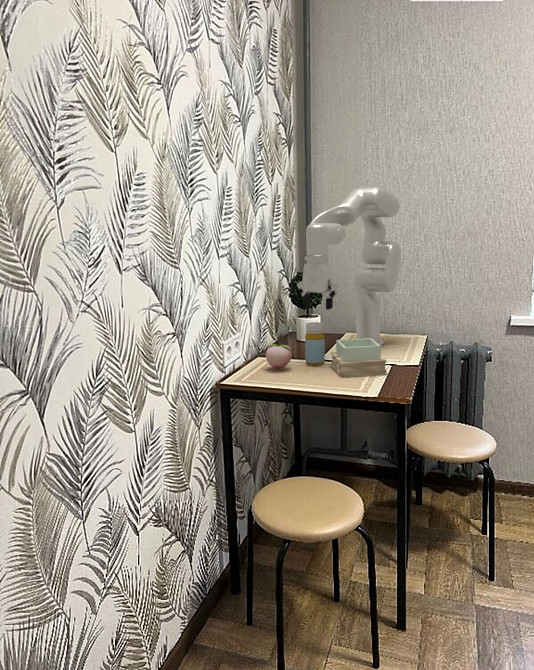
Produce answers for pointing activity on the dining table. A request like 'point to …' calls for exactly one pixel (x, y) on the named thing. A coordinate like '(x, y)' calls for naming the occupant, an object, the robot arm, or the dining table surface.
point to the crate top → (358, 350)
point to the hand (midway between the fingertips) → (317, 308)
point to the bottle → (314, 344)
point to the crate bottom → (358, 367)
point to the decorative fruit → (278, 355)
